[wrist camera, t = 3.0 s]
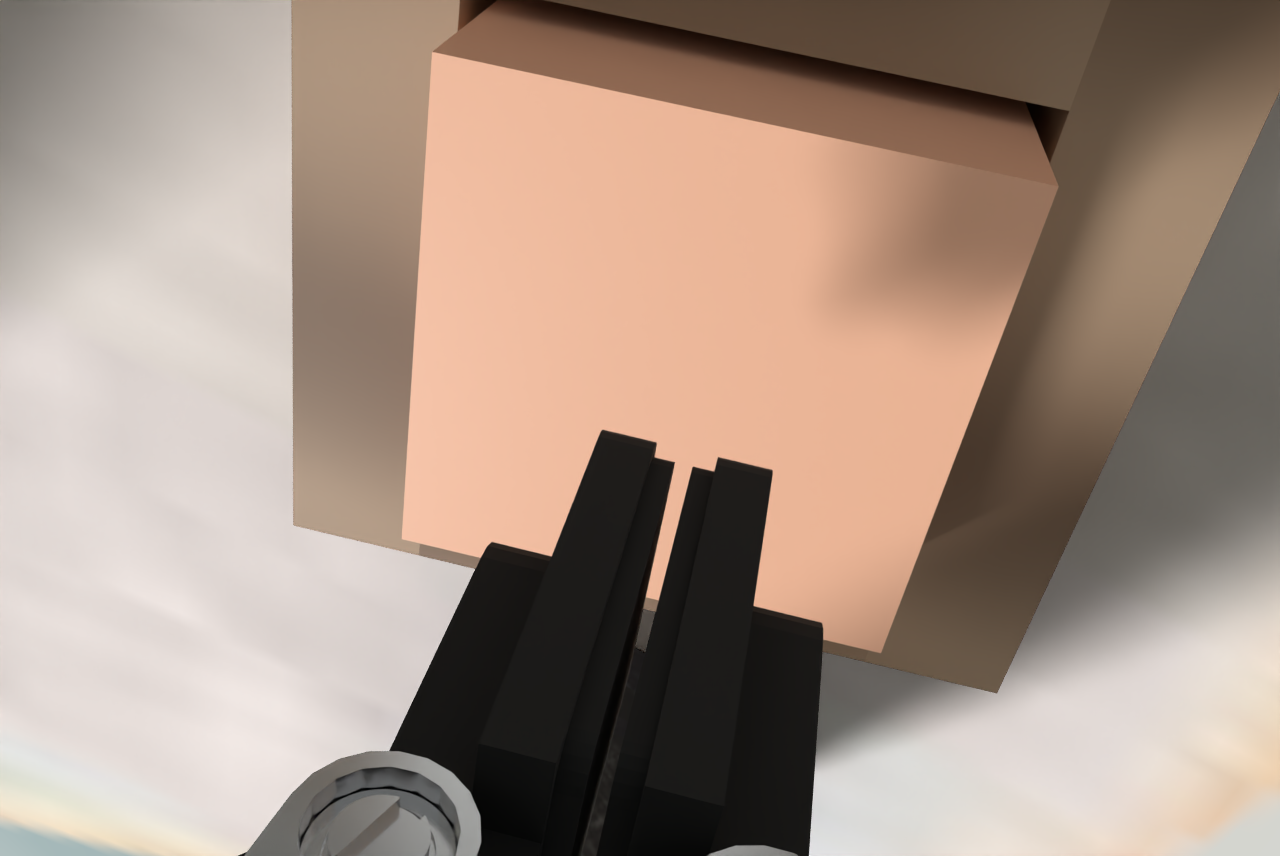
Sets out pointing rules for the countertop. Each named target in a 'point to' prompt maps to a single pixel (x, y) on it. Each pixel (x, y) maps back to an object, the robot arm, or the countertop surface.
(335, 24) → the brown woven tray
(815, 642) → the robot arm
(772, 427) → the peach square block
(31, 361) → the countertop surface
